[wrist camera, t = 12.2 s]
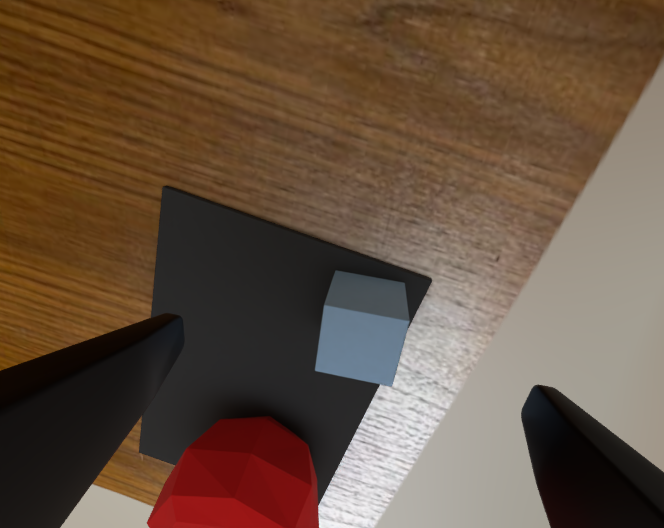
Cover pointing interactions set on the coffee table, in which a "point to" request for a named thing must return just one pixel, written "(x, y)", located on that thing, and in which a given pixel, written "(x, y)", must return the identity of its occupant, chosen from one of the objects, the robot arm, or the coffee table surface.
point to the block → (363, 328)
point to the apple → (241, 480)
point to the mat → (253, 330)
